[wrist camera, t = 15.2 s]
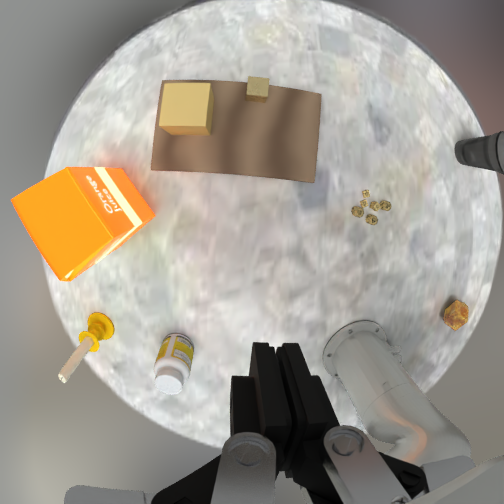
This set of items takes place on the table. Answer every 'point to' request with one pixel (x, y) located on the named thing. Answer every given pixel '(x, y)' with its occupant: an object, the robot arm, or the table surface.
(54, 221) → the orange juice
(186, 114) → the tan rectangular block
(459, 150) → the beverage cup
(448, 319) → the pyrite
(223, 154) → the board
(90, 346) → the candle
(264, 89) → the wooden stub
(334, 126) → the table surface
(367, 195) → the set of tan pieces
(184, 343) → the supplement bottle
